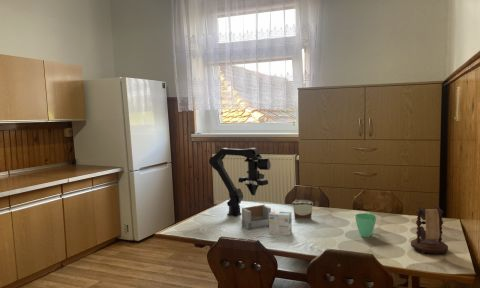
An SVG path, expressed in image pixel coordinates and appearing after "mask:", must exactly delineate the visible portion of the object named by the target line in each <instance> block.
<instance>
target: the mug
mask: <svg viewBox="0 0 480 288" xmlns="http://www.w3.org/2000/svg"><path fill="white" fill-rule="evenodd" d="M376 221H377V216H376V215H375V214H373V213H371V212H367V213H366V212H365V213H364V212H362V213H357V214H355V222H356V227H357V230H358V232H359V235H360V237H362V238H370V237H372V234H373V231H374V229H375V225H376Z"/></svg>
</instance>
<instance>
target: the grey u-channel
mask: <svg viewBox="0 0 480 288" xmlns="http://www.w3.org/2000/svg"><path fill="white" fill-rule="evenodd" d="M271 211H272V209H271V207H269V206H267V205H265V206H263V217H257V218H252V219H251V211H249V210H247V209H243V220H242V219H241V228H242V229H243V230H245V231H251V230H257V229H262V228H267V227H268V228H269V213H270V212H271Z"/></svg>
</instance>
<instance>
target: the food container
mask: <svg viewBox="0 0 480 288" xmlns="http://www.w3.org/2000/svg"><path fill="white" fill-rule="evenodd" d="M291 206H292V207H293V214H294V220H312V217H313V216H312V214H313V207H314V206H315V205H314V202H313V201H311V200H308V199H297V200H294V201H292V205H291Z"/></svg>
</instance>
